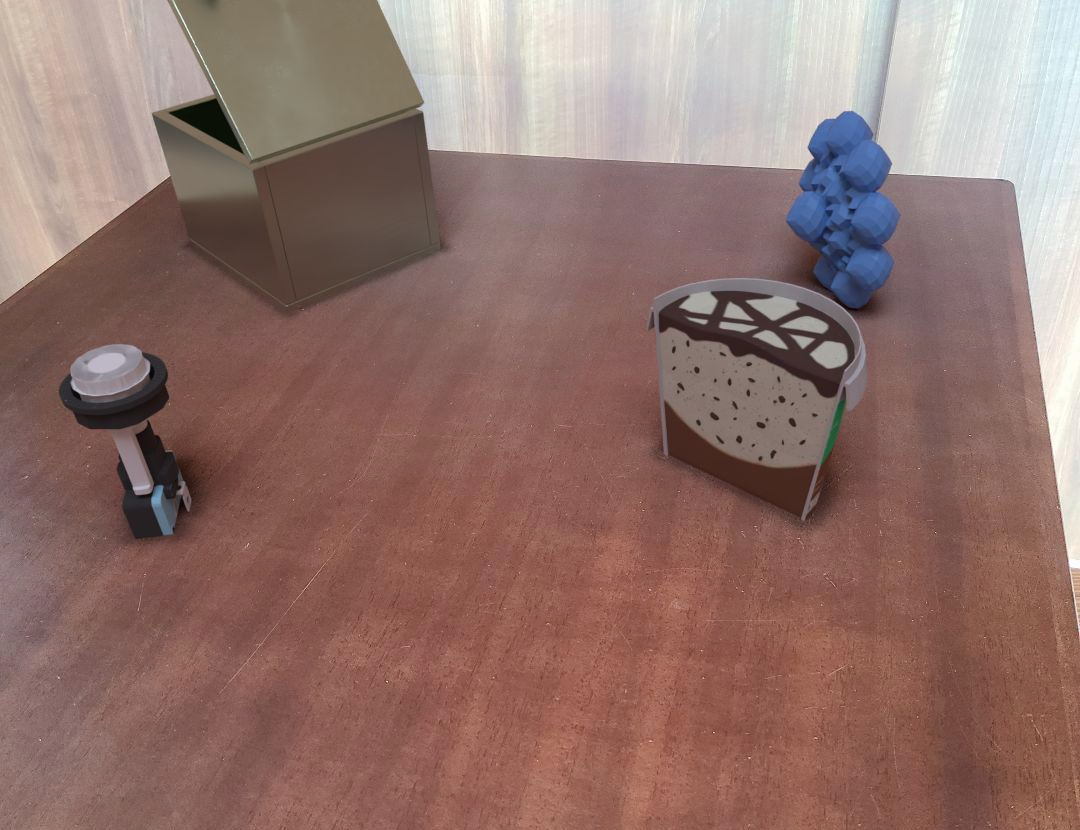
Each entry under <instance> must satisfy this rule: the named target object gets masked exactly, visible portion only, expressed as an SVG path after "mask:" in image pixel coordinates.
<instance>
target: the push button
mask: <svg viewBox="0 0 1080 830" xmlns="http://www.w3.org/2000/svg"><path fill="white" fill-rule="evenodd" d="M168 378H169V371H168V369H167V366H166V363H165V362H164V361H163V359H161V358H160V357H158V356H156V355H155V354H151V353H148V352H142V351H141V349H139V348H137V347H136V346H135V345H130V344H122V343H118V344H109V345H103V346H100V347H96V348H93V349H91V350H88V351H87V352H85V353H84V354H82V355H80V356H79V357H77V358H76V359H75V360H74V362H73V363H72V364H71V366H70V372H69V373H68V374H67V375H66V376H65V377H64V378H63V380H62V381H61V382H60V385H59V387H58V396H59V398H60V401H61V403H62V404H63V406H64V407H65V408H66V409H68V410H69V411H71V412H72V413H73V416H74V418H75V420H76V422H77V424H78V425H81V426H82V427H84V428H86V429H89V430H101V431H104V432H107V433H109V435H111V436H112V439H113V441H114V443H115V447H116V448H117V451H118V455H117V456H118V457H117V458H118V460H119V461H118V463H117V465H116V473H117V476H118V478H119V480H120V482H121V484H122V487H123V489H124V490H125V492H124V496H123V498H122V503H121V506H122V507H121V508H122V511H123V514H124V516H125V518H126V520H127V523H128V526H129V527H130V530H131V532H132V534H133V537H134V540H140V539H147V538H157V537H163V536H164V537H165V536H172V535H174V534H175V533H174V529H175V528H176V522H177V518H178V513H179V508H180V503H181V499H183V503H184V506H185V508H186V510H187V512H190V510H191V505H192V500H193V499H192V497H191V493H190V492H189V489H188V486H187V485H186V481H184V479H183V476H182V472H181V470H180V467H179V464H178V462H177V457H176V455H175V452H174V450H172V449H169V450H166V449H165V447H164V444H163V442H162V438H161V436H160V435H158V434H156V432H155V429H154V427H153V424H152V420H151V419H152V418H153V417H154V416H155V414H157V413H158V412H160V411H162V410H163V409H164V408H165V407H166V404H167V403H168V402H169V400H170V395H169V391H168V389H167V386H166V384H167V382H168V380H169V379H168Z"/></svg>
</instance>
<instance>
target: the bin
mask: <svg viewBox="0 0 1080 830" xmlns="http://www.w3.org/2000/svg"><path fill="white" fill-rule="evenodd" d="M151 116H152V120H153V123H154V126H155V129H156V133H157V137H158V139H159V142H160V146H161V149H162V153H163V156H164V159H165V162H166V166H167V169H168V173H169V176H170V179H171V182H172V186H173V189H174V192H175V195H176V199H177V202H178V205H179V209H180V212H181V215H182V219H183V222H184V226H185V228H186V232H187V236H188V239H189V241H190V245H191V246H192V247H193V248H194V249H195V250H197V251H198V252H200V253H201V254H203V255H204V256H206V257H207V258H208V259H210V260H211V261H213V262H214V263H215V264H217V265H218V266H219V267H220V268H223V269H224V270H225V271H226V272H228V273H230V274H231V275H232V276H234V277H236V278H237V279H238V280H240V281H241V282H243V283H244V284H246V285H247V286H248V287H250V288H251V289H252V290H254V291H256V292H257V293H258V294H259V295H261V296H262V297H264V298H266V299H267V301H269V302H271V303H272V304H274V305H275V306H276V307H278V308H279V309H280V310H282V311H284V312H285V313H287V314H290V313H293V312H295V311H297V310H300V309H302V308H305V307H307V306H309V305H311V304H314V303H316V302H318V301H321V300H324V299H326V298H329V297H331V296H333V295H335V294H339V293H340V292H342V291H345V290H347V289H350V288H353V287H354V286H357V285H359V284H362V283H365V282H367V281H369V280H372V279H374V278H376V277H379V276H381V275H383V274H386V273H388V272H391V271H394V270H396V269H398V268H401V267H403V266H406V265H408V264H410V263H413V262H415V261H418V260H419V259H422V258H424V257H426V256H429V255H431V254H434V253H437V252H438V251H441V250H442V246H441V245H442V244H441V237H440V236H441V235H440V229H439V222H438V214H437V206H436V199H435V190H434V184H433V183H434V182H433V178H432V168H431V167H432V166H431V160H430V159H431V158H430V152H429V145H428V144H429V143H428V137H427V131H426V130H427V129H426V121H425V114H424V111H423V110H420V109H419V108H416V109H413V110H410V111H407V112H404V113H401V114H398V115H395V116H392V117H389V118H386V119H383V120H380V121H377V122H374V123H371V124H368V125H365V126H362V127H359V128H356V129H353V130H350V131H347V132H344V133H341V134H339V135H336V136H333V137H330V138H327V139H324V140H321V141H318V142H315V143H312V144H309V145H306V146H303V147H300V148H297V149H294V150H291V151H288V152H285V153H282V154H279V155H276V156H273V157H270V158H267V159H264V160H261V161H258V162H255V163H252V164H249V162H248V160H247V158H246V156H245V154H244V152H243V150H242V148H241V146H240V144H239V142H238V140H237V138H236V136H235V134H234V132H233V130H232V128H231V126H230V124H229V122H228V120H227V118H226V116H225V114H224V112H223V110H222V109H221V107H220V105H219V103H218V101H217V99H216V97H215V95H214V93H212V94H209V95H207V96H204V97H199V98H197V99H194V100H191V101H190V100H189V101H187V102H183V103H179V104H176V105H174V106H173V105H172V106H170V107H166V108H163V109H160V110H156V111H153V112H151Z"/></svg>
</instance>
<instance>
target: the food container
mask: <svg viewBox="0 0 1080 830" xmlns="http://www.w3.org/2000/svg"><path fill="white" fill-rule="evenodd" d="M648 310H649V311H648V315H647V320H646V325H645V331H647V332H648V331H651V330H652V329H654V336H655V337H654V338H655V351H656V353H655V354H656V364H657V365H656V366H657V378H658V393H659V395H658V396H659V406H660V408H659V409H660V420H661V422H660V423H661V434H662V435H661V436H662V448H663V449H662V450H663V455H664V456H670V457H672V458H675V459H676V460H679V461H680V462H682V463H685V464H687V465H690V466H691V467H693V468H695V469H698V470H699V471H701V472H703V473H705V474H708V475H710V476H712V477H714V478H716V479H718V480H721V481H722V482H725V483H727V484H729V485H731V486H733V487H736V488H737V489H740V490H741V491H744V492H745V493H748V494H750V495H752V496H754V497H756V498H758V499H760V500H762V501H764V502H766V503H768V504H770V505H773V506H775V507H777V508H779V509H781V510H783V511H785V512H788V513H789V514H792V515H793V516H796V517H798V518H800V520H801V521H803V522H806V521H807V520H808V518H809V517H810V516H811V515H812V514H813V513H814V511H815V510H816V508H817V504H818V501H819V498H820V495H821V491H822V488H823V485H824V481H825V478H826V474H827V472H828V467H829V464H830V461H831V457H832V455H833V452H834V448H835V445H836V441H837V437H838V434H839V431H840V427H841V424H842V420H843V417H844V415H845V411H846V412H851V411H852V410H853V409H854V408H855V407H856V406H857V404H858V403H860V401H861V399H862V397H863V395H864V394H865V391H866V389H867V383H868V370H867V369H868V368H867V354H866V345H865V341H864V339H863V336H862V333H861V330H860V326H859V324H858V322H856V320H855V319H854V317H853V316H852V315H851V314H850V313H849V312H848V311H847V310H846V309H845V308H844V307H843V306H842V305H840V304H839V303H837V302H836V301H834V300H833V299H831V298H829V297H827V296H826V295H824V294H822V293H819V292H817V291H814V290H812V289H808V288H806V287H803V286H799V285H796V284H792V283H788V282H783V281H778V280H772V279H763V278H752V277H751V278H750V277H749V278H747V277H731V278H716V279H706V280H702V281H697V282H696V281H695V282H692V283H687V284H684V285H682V286H678V287H675V288H672V289H671V290H670V289H669V290H668V291H665V292H663V293H661V294H660V295H657V296H656V297H654V298H653V305H652V306H651V307H649V309H648Z"/></svg>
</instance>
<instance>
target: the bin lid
mask: <svg viewBox="0 0 1080 830" xmlns="http://www.w3.org/2000/svg"><path fill="white" fill-rule="evenodd" d="M166 1H167V3H168V5H169V7H170V9H171V11H172V13H173V15H174V16H175V17H174V18H175V19H176V21H177V22H178V25H179V26H180V29H181V31H182V33H183V35H184V37H185V39H186V41H187V43H188V44H189V47H190V48H191V51H192V52H193V54H194V57H195V59H196V61H197V63H198V65H199V67H200V69H201V71H202V72H203V75H204V77H205V78H206V79H205V80H206V81H207V83H208V84H209V87H210V89H211V91H212V94H214V95H215V97H216V99H217V101H218V103H219V105H220V107H221V109H222V110H223V112H224V114H225V116H226V118H227V120H228V122H229V124H230V126H231V128H232V130H233V132H234V134H235V136H236V138H237V140H238V142H239V144H240V146H241V148H242V150H243V152H244V154H245V156H246V158H247V160H248V162H249V164H252V163H255V162H258V161H261V160H264V159H267V158H270V157H273V156H276V155H279V154H282V153H285V152H288V151H291V150H294V149H297V148H300V147H303V146H306V145H309V144H312V143H315V142H318V141H321V140H324V139H327V138H330V137H333V136H336V135H339V134H341V133H344V132H347V131H350V130H353V129H356V128H359V127H362V126H365V125H368V124H371V123H374V122H377V121H380V120H383V119H386V118H389V117H392V116H395V115H398V114H401V113H404V112H407V111H410V110H413V109H419V108H421V107H422V106H423V105H424V104H425V100H424V98H423V96H422V94H421V92H420V90H419V87H418V86H417V83H416V81H415V79H414V77H413V75H412V73H411V70H410V68H409V66H408V64H407V60H405V57H404V54H403V53H402V51H401V48H400V47H399V44H398V42H397V40H396V38H395V35H394V33H393V31H392V29H391V26H390V24H389V23H388V21H387V18H386V17H385V14H384V12H383V10H382V7H381V5H380V3H379V1H378V0H166Z"/></svg>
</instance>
